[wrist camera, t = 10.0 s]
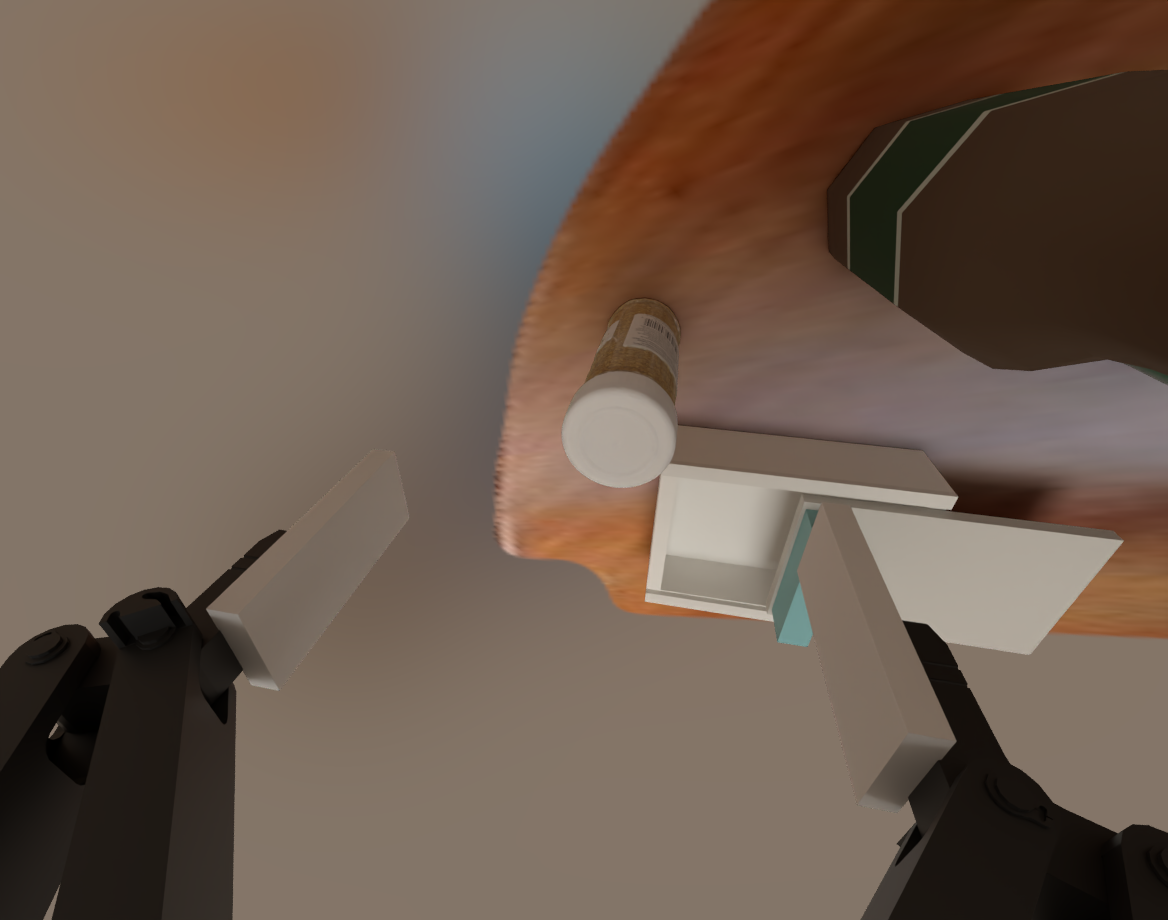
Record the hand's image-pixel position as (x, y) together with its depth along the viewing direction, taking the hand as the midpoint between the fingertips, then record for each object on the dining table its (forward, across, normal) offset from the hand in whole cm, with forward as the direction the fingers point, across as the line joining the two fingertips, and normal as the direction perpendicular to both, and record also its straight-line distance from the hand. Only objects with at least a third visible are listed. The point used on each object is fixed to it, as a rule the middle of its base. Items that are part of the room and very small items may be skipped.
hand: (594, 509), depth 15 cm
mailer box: (+18, -10, +12) cm, 24 cm away
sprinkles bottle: (+18, 0, 0) cm, 18 cm away
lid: (+13, -18, +12) cm, 26 cm away
